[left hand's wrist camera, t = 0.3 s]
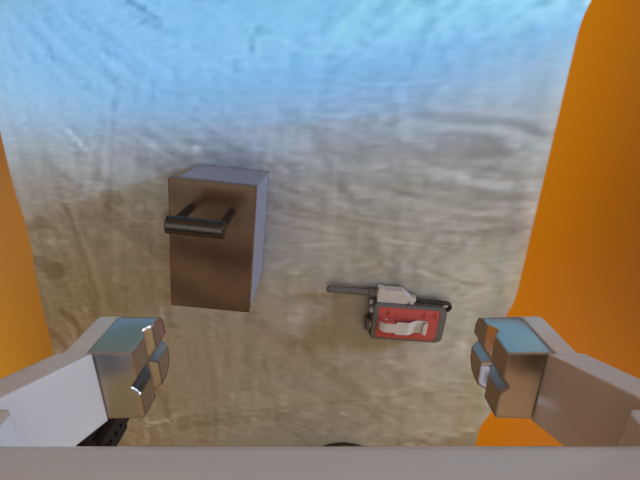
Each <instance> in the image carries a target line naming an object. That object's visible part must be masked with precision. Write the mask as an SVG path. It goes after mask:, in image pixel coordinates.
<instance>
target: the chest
mask: <svg viewBox="0 0 640 480" xmlns="http://www.w3.org/2000/svg"><path fill="white" fill-rule="evenodd" d="M268 176H269V172H266V171H257V170H248V169H239V168H230V167H221V166H212V165H203V164H199V165H198V166H196V167H194V168H193V169H191V170H189V171H188V172H186V173H185V174H183V175H181V176H180V177H188V178H197V179H207V180H216V181H225V182H234V183H243V184H252V185H257V202H256V220H255V237H254V255H253V272H252V290H251V304H252V301H253V298H254V295H255V292H256V289H257V286H258V282H259V279H260V276H261V273H262V267H263V252H264V236H265V221H266V206H267V191H268Z"/></svg>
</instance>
